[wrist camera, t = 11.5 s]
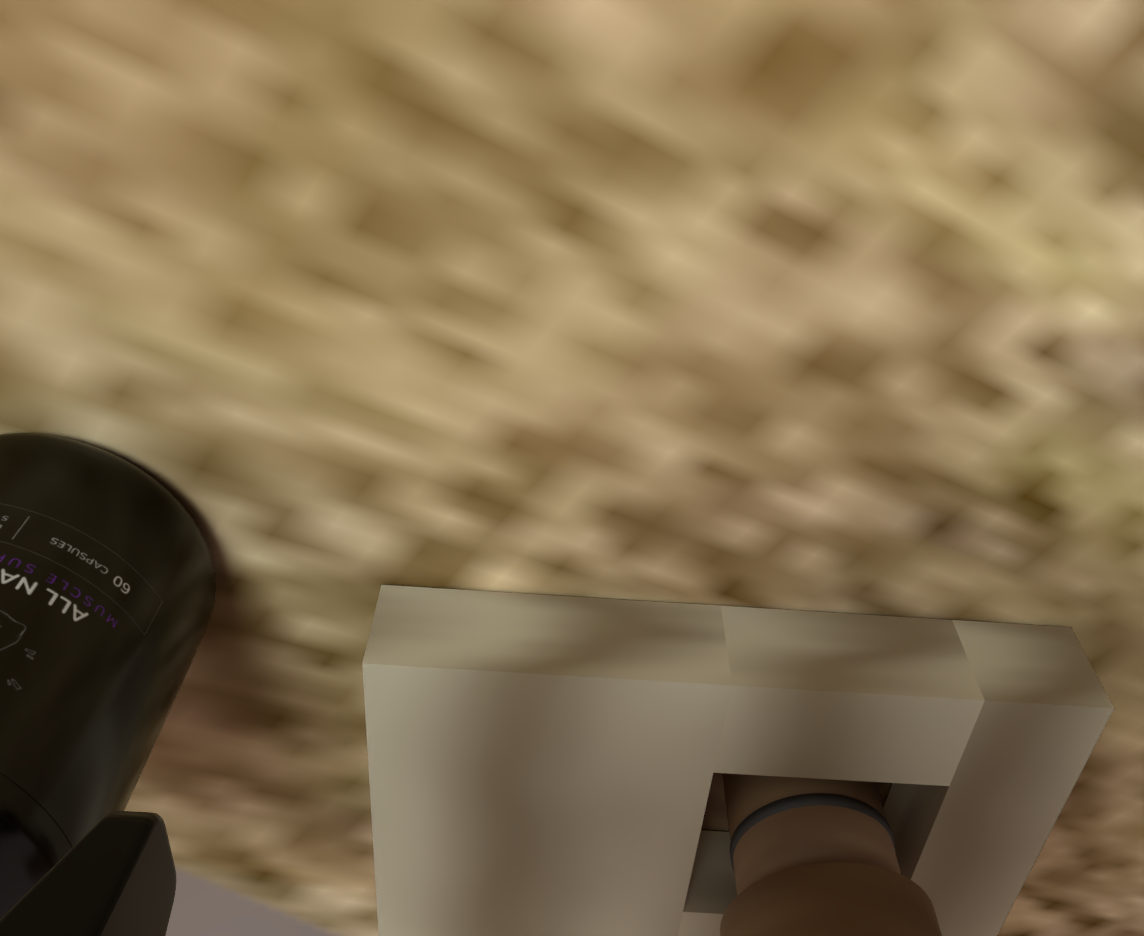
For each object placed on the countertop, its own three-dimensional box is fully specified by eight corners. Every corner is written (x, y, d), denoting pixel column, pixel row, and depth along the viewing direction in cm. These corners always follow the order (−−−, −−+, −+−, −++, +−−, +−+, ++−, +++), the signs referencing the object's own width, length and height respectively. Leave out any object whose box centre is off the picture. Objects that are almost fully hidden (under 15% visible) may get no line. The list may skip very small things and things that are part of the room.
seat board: (1070, 627, 25) (1114, 708, 23) (945, 905, 31) (970, 988, 29) (381, 584, 24) (362, 663, 22) (394, 874, 31) (380, 957, 29)
